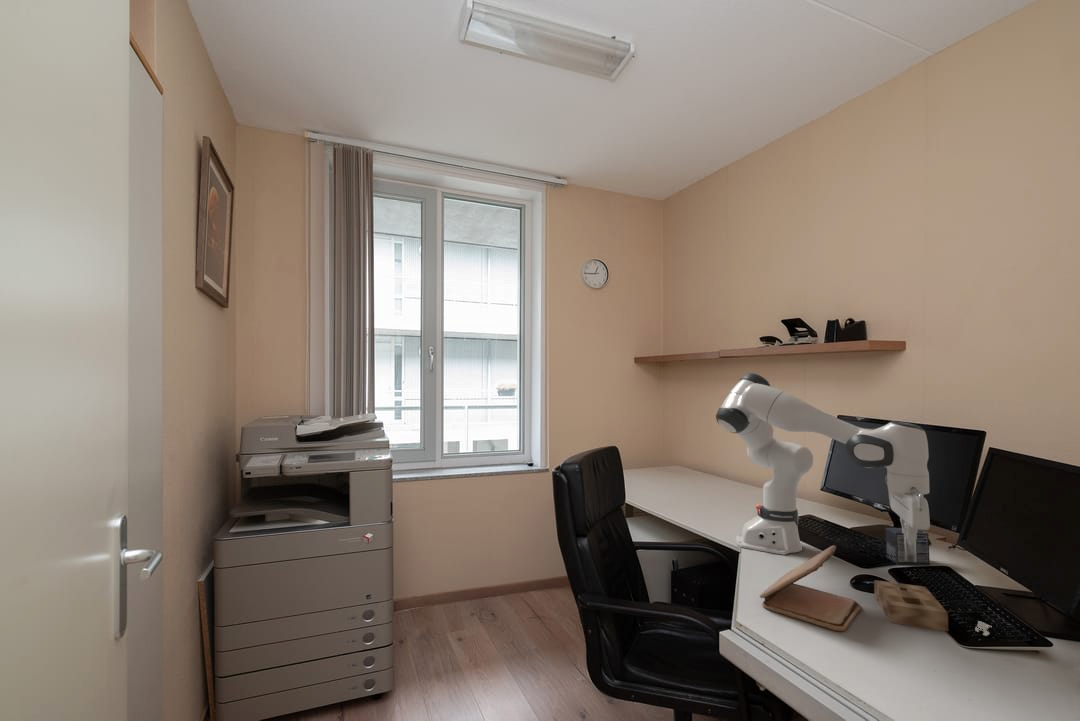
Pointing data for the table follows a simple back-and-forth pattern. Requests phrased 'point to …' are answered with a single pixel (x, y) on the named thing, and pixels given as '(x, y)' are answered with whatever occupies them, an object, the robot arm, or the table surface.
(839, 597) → the case
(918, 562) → the small box
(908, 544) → the gauge pin
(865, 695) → the table surface
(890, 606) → the wooden flat block
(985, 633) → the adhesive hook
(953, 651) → the table surface
